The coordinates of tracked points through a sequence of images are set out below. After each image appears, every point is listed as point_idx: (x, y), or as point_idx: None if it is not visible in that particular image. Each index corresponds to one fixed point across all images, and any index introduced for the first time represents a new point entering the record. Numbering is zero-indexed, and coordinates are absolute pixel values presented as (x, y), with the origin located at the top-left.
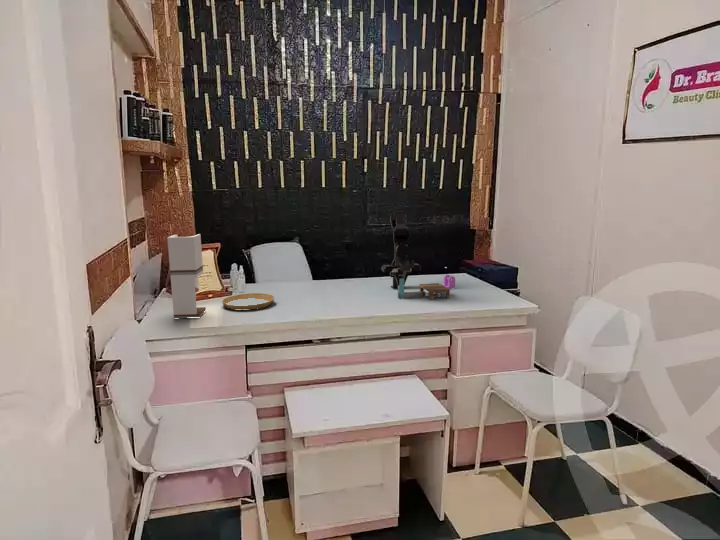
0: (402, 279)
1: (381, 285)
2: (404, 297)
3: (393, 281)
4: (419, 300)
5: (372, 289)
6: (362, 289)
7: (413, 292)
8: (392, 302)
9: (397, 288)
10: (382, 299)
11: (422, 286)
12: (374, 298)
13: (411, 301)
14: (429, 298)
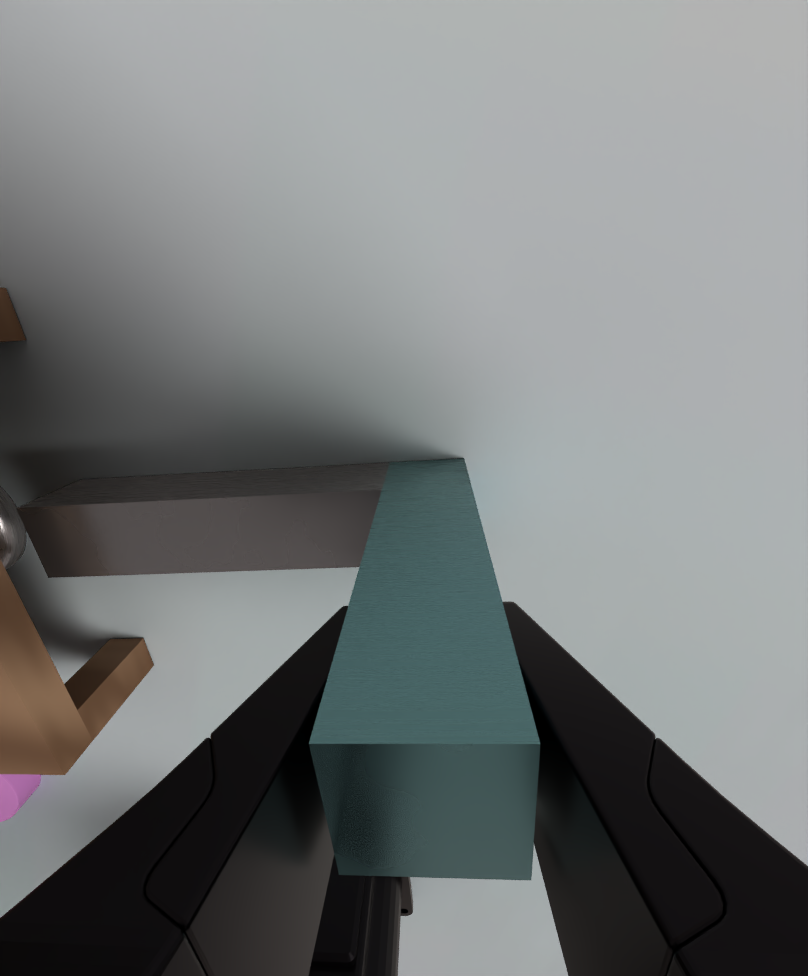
0: (397, 708)
1: (477, 950)
2: (384, 467)
3: (394, 964)
4: (178, 285)
5: None
6: None
7: (216, 523)
8: (661, 225)
9: None
10: (723, 467)
11: (26, 677)
12: (803, 545)
13: (317, 237)
14: (8, 327)
